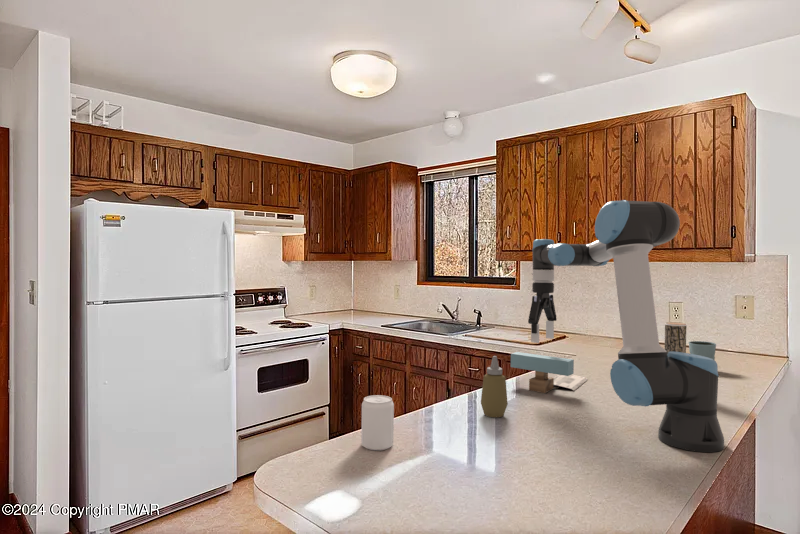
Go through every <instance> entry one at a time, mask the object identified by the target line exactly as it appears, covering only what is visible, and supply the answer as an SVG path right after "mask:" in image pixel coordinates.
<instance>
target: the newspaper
mask: <svg viewBox="0 0 800 534" xmlns="http://www.w3.org/2000/svg"><path fill="white" fill-rule="evenodd" d="M553 378H554V389H556V390H557V389H558V388H560V387H562V388H566V389H568V390H571V391H572V392H575V391H577V390H578V389H579V388H580V387H581V386H583V384H585V383H586V382H588V380H589V379H588V378H587V377H584V376H580V375H576V374H572V375H569V376H565V375H558V374H555V376H554V377H553ZM554 389H553V390H554Z"/></svg>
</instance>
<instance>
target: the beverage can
mask: <svg viewBox="0 0 800 534" xmlns="http://www.w3.org/2000/svg"><path fill="white" fill-rule="evenodd" d="M394 415H395V404H394V401H393V398H392V397H390V396H387V395H385V394H384V395H381V394H377V395H376V394H373V395H368V396H365V397H363V401H362V403H361V441H360V442H361V446H362V447H364V448H366V449H367V450H370V451H384V450H388V449H390V448H391V447H392V446H393V445H394V435H395V434H394V429H395V428H394V427H395V426H394V423H395V421H394V420H395V419H394V418H395V416H394Z"/></svg>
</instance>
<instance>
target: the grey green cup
mask: <svg viewBox="0 0 800 534" xmlns="http://www.w3.org/2000/svg"><path fill="white" fill-rule="evenodd" d="M716 347H717V344H716V343H715V342H710V341H704V340H703V341H702V340H701V341H700V340H699V341H698V340H694V341H689V342H688V350H689V354H694V355H699V356H704V357H708V358H711V359H713V360H715V359H716V357H715V355H716V349H717V348H716ZM715 361H716V360H715Z"/></svg>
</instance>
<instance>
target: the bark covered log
mask: <svg viewBox="0 0 800 534" xmlns="http://www.w3.org/2000/svg"><path fill="white" fill-rule="evenodd" d="M664 349H665V350H666V351H667V354H668V352H670V351H674V352H682V353H687V323H683V322H672V321H671V322H665V323H664Z"/></svg>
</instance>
